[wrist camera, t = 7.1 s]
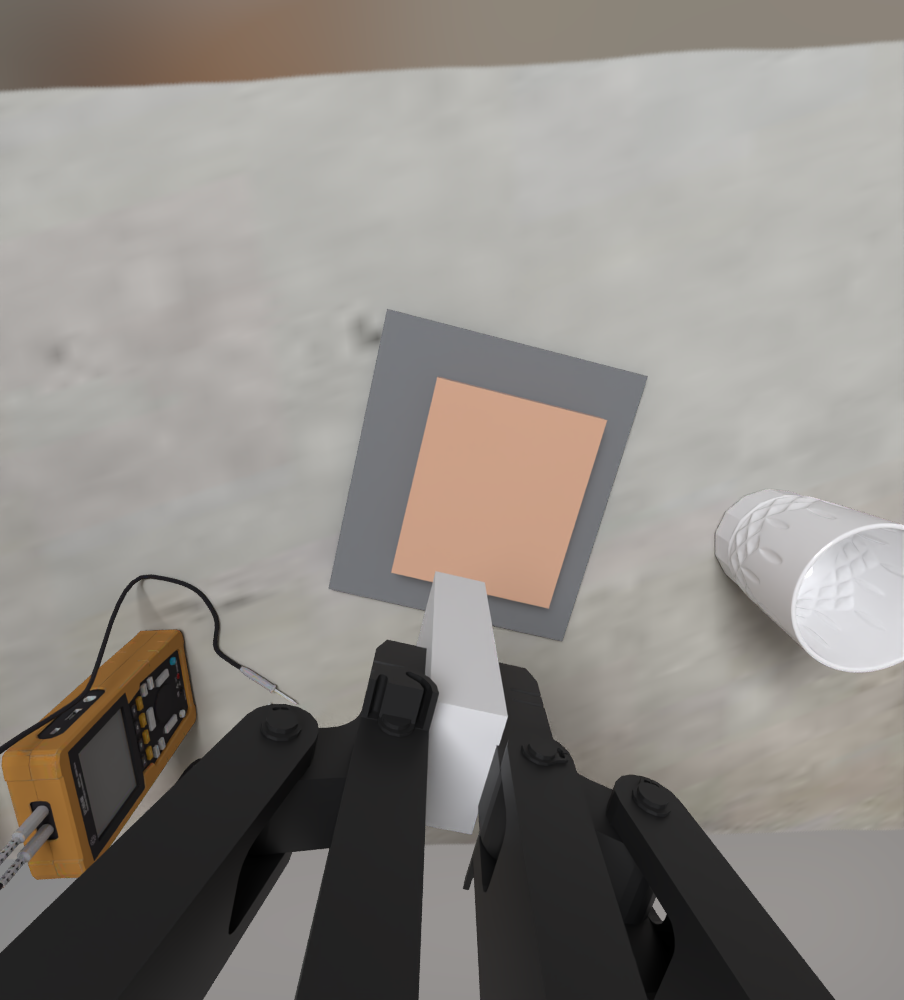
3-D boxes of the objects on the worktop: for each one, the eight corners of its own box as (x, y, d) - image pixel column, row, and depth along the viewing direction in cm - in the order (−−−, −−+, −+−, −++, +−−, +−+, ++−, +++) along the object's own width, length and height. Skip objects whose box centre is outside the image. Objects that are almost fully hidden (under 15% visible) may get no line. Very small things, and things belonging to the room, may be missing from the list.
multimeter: (306, 758, 42) (184, 1107, 22) (168, 764, 42) (-72, 1118, 23) (282, 567, 38) (112, 786, 19) (132, 574, 38) (-192, 800, 19)
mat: (330, 585, 39) (328, 588, 38) (388, 309, 34) (387, 308, 34) (560, 637, 40) (562, 641, 39) (644, 376, 35) (647, 376, 35)
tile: (391, 572, 35) (548, 608, 36) (437, 377, 32) (607, 420, 33) (394, 559, 38) (542, 593, 38) (437, 375, 35) (597, 415, 35)
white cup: (752, 616, 39) (852, 701, 30) (679, 537, 38) (759, 600, 28) (848, 538, 38) (985, 601, 28) (776, 454, 37) (895, 490, 27)
